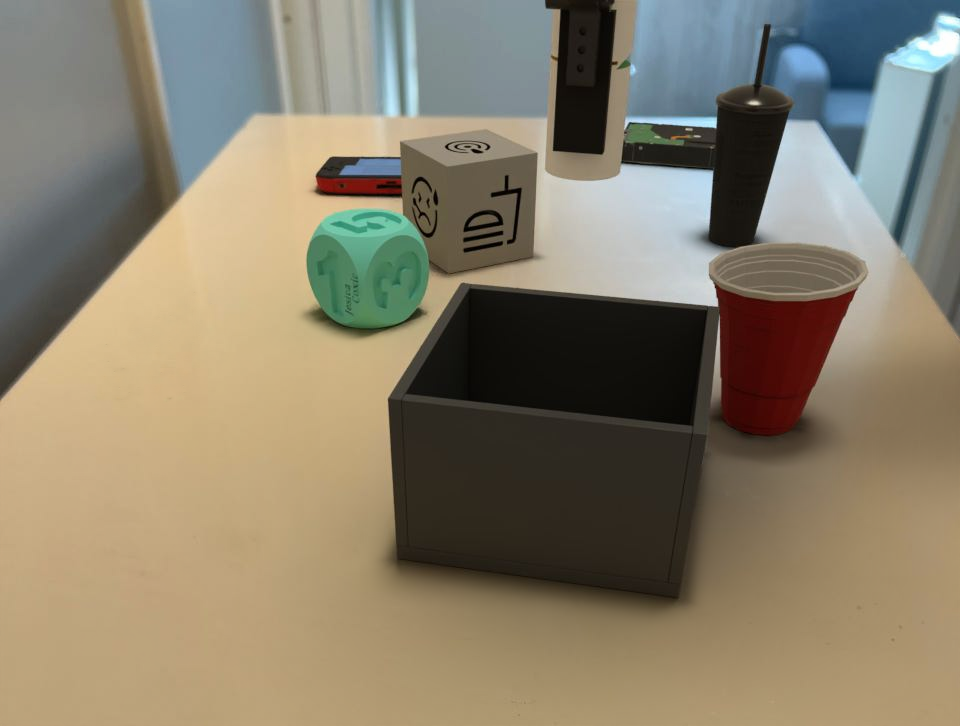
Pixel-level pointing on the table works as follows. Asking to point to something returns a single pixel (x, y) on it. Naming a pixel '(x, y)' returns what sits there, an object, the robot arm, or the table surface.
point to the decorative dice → (367, 267)
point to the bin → (555, 436)
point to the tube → (610, 161)
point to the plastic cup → (778, 327)
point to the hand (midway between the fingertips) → (585, 138)
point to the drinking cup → (745, 154)
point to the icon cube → (470, 198)
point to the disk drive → (669, 145)
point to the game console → (360, 175)
